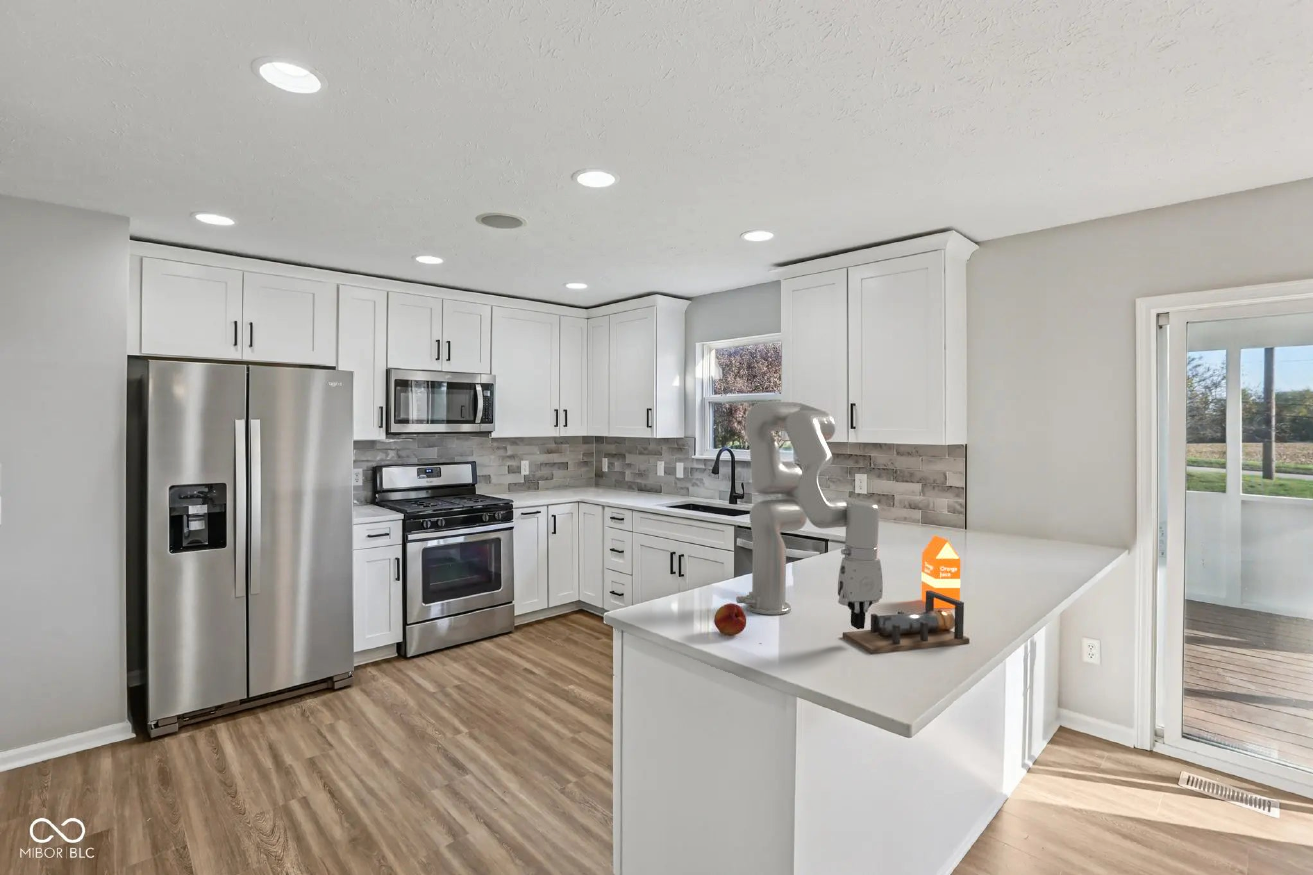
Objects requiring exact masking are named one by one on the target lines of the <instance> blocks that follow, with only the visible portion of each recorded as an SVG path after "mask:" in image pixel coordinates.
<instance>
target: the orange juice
mask: <svg viewBox="0 0 1313 875" xmlns="http://www.w3.org/2000/svg"><path fill="white" fill-rule="evenodd" d="M921 556H922V557H921V595H920V597H921V601H923V602H925V603H926V591H929V590H931V591H934V592H937V593H939V594H942V595H945V596H948V597H950V598H953V599H956V600H959V601H961V564H962V563H961V562H962V561H961V558H960V557H959V555H958V553H957V552H956V550H955V549H954V547H953V546H952V544H951V543H950V541H949V540H948V539H946V538H943V537H941V536H938V535H936V534H935V535H933V537H932V538H931V540H930V541H929V542H928V544H927V545H926V547H925V548H924V550H922V552H921ZM934 609H955V605H952V604H949V603H947V602H944V601H941V600H939V599H936V598H934Z"/></svg>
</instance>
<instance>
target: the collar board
mask: <svg viewBox="0 0 1313 875" xmlns="http://www.w3.org/2000/svg"><path fill="white" fill-rule="evenodd" d="M934 598H936V599H939V600H941V601H944V602H947V603H949V604H952V605H955V608H954V619H955V626H954V628H953V629H954V631H953V630H952V629H951V630H944V631H934V632H928V623H927V622H921V625H920V633H914V634H905V635H900V625H898V624H893V635H892V636H885V637H882V636H880V635H879V634H878V632H877V630H876V627H875V620H876V618H877V617H878V616H879V615H878V614H876V613H870V629H862V630H854V631H843V632H842V638H843V639H845V638H846V639H845V640H847V641H848V640H849V642H850V643H852V644H854V645H855V644H856V646H857V645H858V646H857V647H859V648H860V649H862V650H864V651H866V652H867V653H870V654H871V655H873V654H882V653H891V652H901V651H910V650H912V651H913V650H920V649H928V648H929V649H930V648H937V647H939V648H940V647H947V646H955V645H965V644H970V638H969V637H967V636H965V635H964V623H965V622H964V620H965V619H964V616H965V615H964V614H965V613H964V612H965V602H963V601H962V600H960V601H959V600H956V599H953V598H950V597H948V596H945V595H942V594H939V593H937V592H934V591H931V590H929V591H926V602H925V611H924V612H926V611H935V608H934ZM904 613H905V612H903V611H897V614H904Z"/></svg>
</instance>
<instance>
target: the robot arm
mask: <svg viewBox="0 0 1313 875" xmlns="http://www.w3.org/2000/svg"><path fill="white" fill-rule="evenodd" d="M744 423H745V424H744V425H745V426H744V427H745V428H744V429H745V434H746V437H747V442H748V446H749V452H750V453H749V454H750V455H749V456H750V468H751V470H750V472H751V482H752V486H753V489H754V492H756V493H757V494H758V495H762V496H774V495H775V496H776V495H780V497H781V498H780V499H779V498H777V499H776V498H775V499H763V500H760V501H757V502H755V503H754V504H753V505H752V506H751V509H750V512H749V523H750V528H751V534H752V576H751V577H752V581H751V582H752V585H751V586H752V587H751V588H752V589H751V590H752V591H748V594H746V596H744V595H741V596H740V595H739V596H736V598H735V601H736V603H737V604H744V605H746V608H747V610H748V611H751V612H753V613H757V614H761V615H769V616H771V615H772V616H774V615H777V616H778V615H784V614H788V613H789V612H791V610H792V609H791V608H792V605H790V604H789V603H788V602H786V594H787V593H786V586H787V580H786V578H787V548H786V544H785V542H784V539H783V538H782V535H781V533H787V532H793V531H799V530H801V529H802V528H804V526H805V525H806V523H807V519H808V521H809V522H810V523H811V524H812V525H813V526H814V527H815V528H818V529H822V530H823V529H833V528H834V529H835V528H845V536H844V538H845V541H844V548H842V549H840V555H843V556H844V557H842V558H841V563H840V566H839V571H838V577H837V578H838V579H837V596H838V597H839V598H838V601H837V603H838V604H839V605H842V606H846V607H847V608H848V609H849V610H850V625H851V627H852V628H854V629H856V630H865V623H866V613H868V611H869V608H870V607H871V606H872V605H874V604H876V603H877V604H878V603H879V602H880V600H881V599H882V598H883V586H884V585H883V583H884V582H883V570H882V564H881V560H880V558H878V547H879V546H878V542H879V527H880V526H879V523H880V508H879V506H878V505H877V504H876V503H873V502H869V501H868V502H867V501H860V500H857V499H856V498H853V497H850V496H841V497H838V496H837V497H824V495H823V493H822V490H821V488H820V485H819V474H820V472H822V471H824V470H825V469H827V468H829V466H830V465H831V464H832V462H833V460H834V458H833V454H832V453H831V449H830V448H829V446H828V443H827V441H829V440H831V439H832V438H833V437H834V435H835V433H836V423H835V421H834V418H833V417H832V416H831V414H830V413H828V412H826V411H824V410H822V409H819V408H816V407H813V406H810V405H808V404H804V403H801V402H793V401H776V400H775V401H772V400H771V401H770V400H769V401H760V402H758V403H755V404H754V405H752V406H751V407H750V409H749V410H748V411H747V413H746V416H745V422H744ZM772 432H785V433H786V434H787V437H788V439H789V442H790V444H791V447H792V449H793V451H794V453H795V456H796V457H797V460H798V463H799V465H800V466H799V465H798V464H796V463H794V462H791V461H790V462H789V461H781V460H782V459H781V454H780V453H781V451H780V447H779V443H778V441H777V440H776V438H775V436H774V435H773V434H772ZM800 467H801V468H800Z"/></svg>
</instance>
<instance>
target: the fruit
mask: <svg viewBox="0 0 1313 875" xmlns="http://www.w3.org/2000/svg"><path fill="white" fill-rule="evenodd" d="M713 623H714V626H715V627H716V629H717V630H718V631H719V633H720V634H722V635H725V636H736V635H738V634H741V633H742V632H743V631H744V629H745V628H746V627H747V617H746V613H745V612H744V610H743V608H742V607H741V606H740V605H738V604H736V603H732V602H731V603H730V602H729V603H725V604H723V605H721V606H720V607H719V608H718V609H717V610H716V612H715V614H714V619H713Z"/></svg>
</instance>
